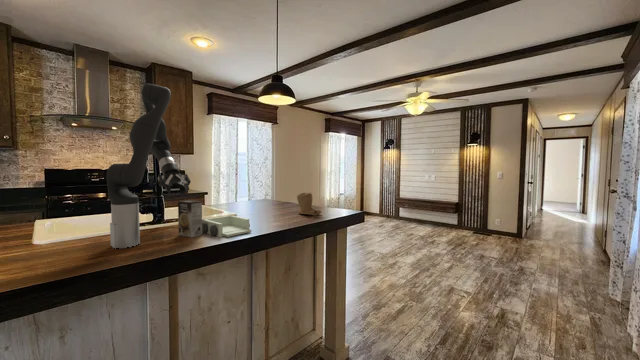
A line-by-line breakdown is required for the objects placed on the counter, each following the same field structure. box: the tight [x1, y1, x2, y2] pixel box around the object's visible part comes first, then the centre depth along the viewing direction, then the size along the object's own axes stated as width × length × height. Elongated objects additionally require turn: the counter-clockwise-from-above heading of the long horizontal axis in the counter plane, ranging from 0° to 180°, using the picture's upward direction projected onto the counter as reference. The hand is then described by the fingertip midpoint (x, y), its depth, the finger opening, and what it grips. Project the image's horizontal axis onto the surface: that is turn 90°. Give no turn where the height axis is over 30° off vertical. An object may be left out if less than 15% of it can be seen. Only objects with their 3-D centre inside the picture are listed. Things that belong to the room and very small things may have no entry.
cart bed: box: [202, 214, 252, 238], centre depth 137 cm, size 19×21×6 cm
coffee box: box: [177, 199, 203, 238], centre depth 131 cm, size 9×6×16 cm
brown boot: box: [296, 191, 322, 216], centre depth 187 cm, size 15×12×15 cm
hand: (178, 191), depth 138 cm, fingers open, 8 cm apart
